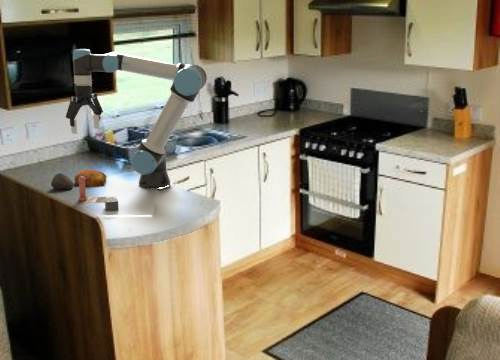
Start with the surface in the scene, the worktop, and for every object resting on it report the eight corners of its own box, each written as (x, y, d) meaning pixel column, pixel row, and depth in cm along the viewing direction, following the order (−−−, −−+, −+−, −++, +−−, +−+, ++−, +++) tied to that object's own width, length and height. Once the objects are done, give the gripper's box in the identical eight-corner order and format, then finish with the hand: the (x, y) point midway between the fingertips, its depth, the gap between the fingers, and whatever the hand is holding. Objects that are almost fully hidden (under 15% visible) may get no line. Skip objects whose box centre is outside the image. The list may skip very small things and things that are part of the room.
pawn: (87, 198, 277) (86, 175, 274) (86, 200, 273) (85, 177, 270) (79, 198, 276) (78, 175, 273) (77, 200, 273) (76, 177, 270)
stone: (72, 193, 299) (58, 177, 300) (79, 183, 294) (65, 167, 295) (57, 201, 291) (43, 185, 292) (64, 191, 286) (50, 175, 287)
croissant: (91, 194, 293) (91, 178, 290) (69, 184, 301) (69, 168, 298) (113, 186, 305) (114, 171, 302) (91, 176, 312) (92, 162, 309)
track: (115, 198, 280) (115, 196, 280) (113, 204, 272) (113, 202, 272) (80, 198, 279) (79, 196, 278) (76, 204, 271) (76, 202, 271)
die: (117, 208, 267) (116, 197, 265) (118, 212, 262) (118, 201, 261) (105, 209, 265) (104, 198, 264) (106, 213, 261) (106, 202, 259)
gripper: (97, 81, 288) (99, 125, 294) (55, 86, 268) (58, 134, 274) (109, 82, 285) (111, 127, 291) (67, 88, 264) (70, 136, 270)
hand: (85, 131), depth 282 cm, fingers open, 13 cm apart
